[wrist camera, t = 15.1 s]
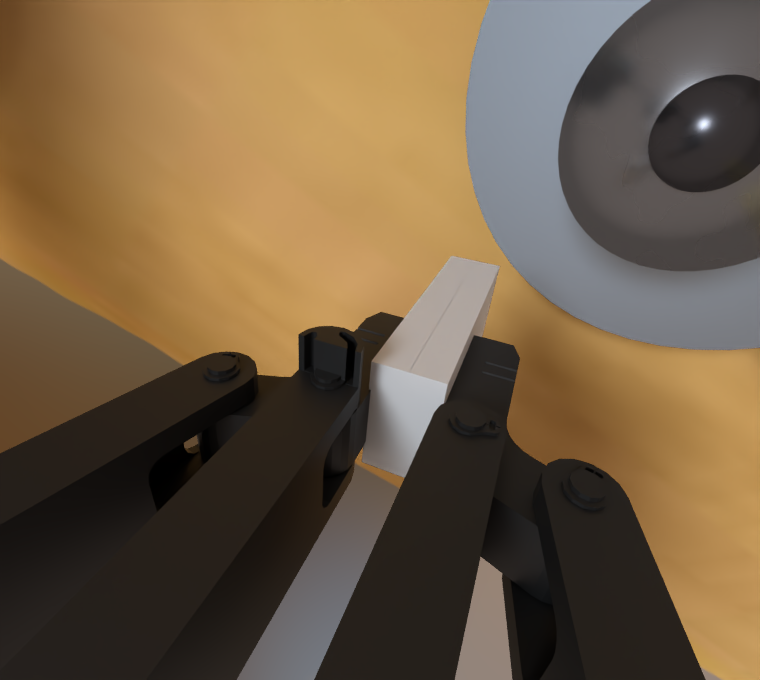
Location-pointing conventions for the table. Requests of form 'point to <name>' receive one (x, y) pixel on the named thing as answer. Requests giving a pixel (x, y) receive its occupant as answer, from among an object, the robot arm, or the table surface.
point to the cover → (670, 137)
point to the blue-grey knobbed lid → (545, 196)
